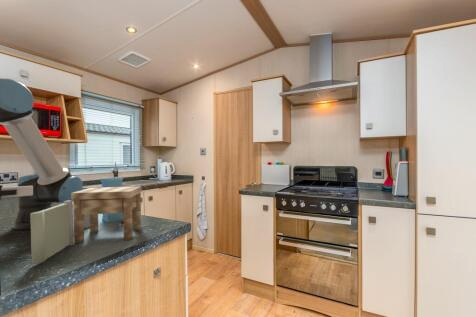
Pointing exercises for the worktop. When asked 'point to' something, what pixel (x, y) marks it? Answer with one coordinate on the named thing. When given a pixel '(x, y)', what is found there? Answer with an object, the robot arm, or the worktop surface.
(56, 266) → the worktop surface
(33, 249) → the pale green flat panel
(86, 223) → the flask
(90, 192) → the stool
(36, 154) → the robot arm
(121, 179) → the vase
